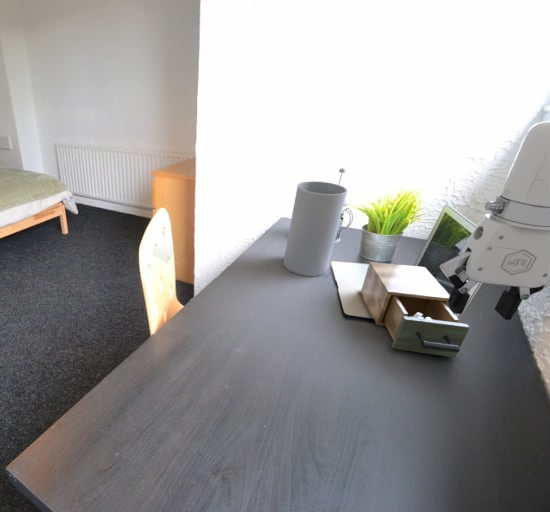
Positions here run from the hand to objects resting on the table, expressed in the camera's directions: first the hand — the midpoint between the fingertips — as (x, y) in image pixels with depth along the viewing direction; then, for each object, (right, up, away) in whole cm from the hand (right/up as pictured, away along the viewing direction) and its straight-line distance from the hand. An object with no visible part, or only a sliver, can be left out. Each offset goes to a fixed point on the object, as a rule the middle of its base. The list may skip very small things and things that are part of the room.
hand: (478, 311), depth 62 cm
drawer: (+3, -9, +19) cm, 21 cm away
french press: (+9, +15, +69) cm, 71 cm away
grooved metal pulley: (+4, -8, +19) cm, 21 cm away
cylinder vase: (-8, +6, +50) cm, 51 cm away
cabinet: (+6, -5, +30) cm, 31 cm away
